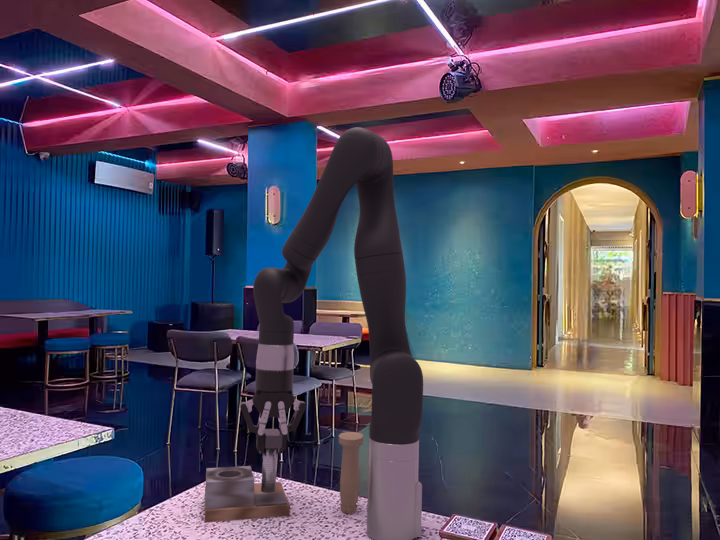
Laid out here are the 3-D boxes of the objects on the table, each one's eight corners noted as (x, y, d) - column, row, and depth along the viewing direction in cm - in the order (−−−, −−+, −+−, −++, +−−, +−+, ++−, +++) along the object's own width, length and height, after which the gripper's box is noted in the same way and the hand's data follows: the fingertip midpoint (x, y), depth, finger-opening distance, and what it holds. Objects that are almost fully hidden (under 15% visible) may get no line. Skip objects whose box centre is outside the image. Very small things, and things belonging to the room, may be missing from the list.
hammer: (278, 495, 107) (282, 435, 108) (261, 496, 106) (266, 435, 107) (273, 485, 114) (277, 428, 115) (258, 485, 113) (262, 428, 114)
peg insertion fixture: (280, 491, 121) (281, 459, 122) (289, 515, 108) (290, 479, 108) (204, 496, 117) (206, 462, 118) (204, 522, 104) (206, 484, 104)
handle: (362, 506, 114) (364, 432, 115) (358, 518, 108) (360, 440, 109) (339, 504, 115) (342, 431, 116) (334, 516, 108) (336, 438, 109)
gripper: (240, 368, 106) (236, 459, 105) (312, 368, 110) (309, 456, 109) (238, 364, 114) (234, 449, 113) (305, 364, 117) (302, 446, 116)
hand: (271, 452), depth 111 cm, fingers closed on hammer, 3 cm apart
